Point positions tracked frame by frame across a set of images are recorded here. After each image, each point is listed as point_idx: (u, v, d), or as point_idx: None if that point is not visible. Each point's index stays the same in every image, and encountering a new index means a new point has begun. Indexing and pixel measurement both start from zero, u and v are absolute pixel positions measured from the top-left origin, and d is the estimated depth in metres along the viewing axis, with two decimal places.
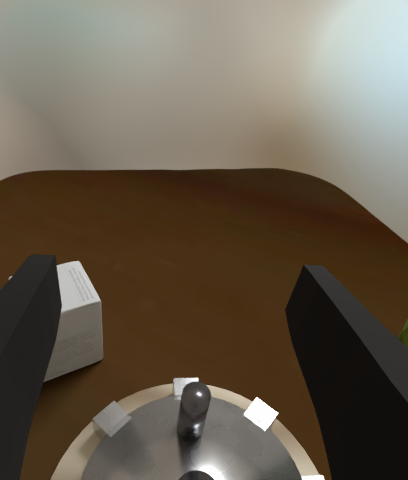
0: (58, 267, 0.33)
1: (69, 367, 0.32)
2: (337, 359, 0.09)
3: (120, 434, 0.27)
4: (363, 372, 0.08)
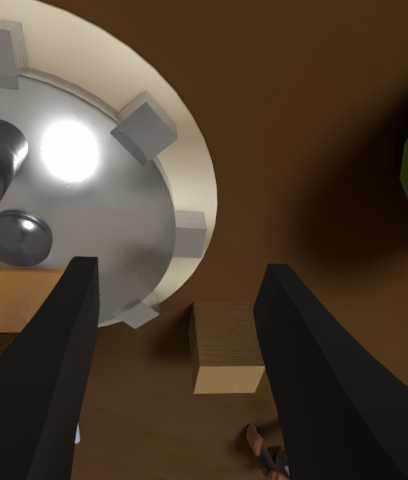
0: None
1: None
2: (296, 359, 0.09)
3: None
4: (317, 373, 0.08)
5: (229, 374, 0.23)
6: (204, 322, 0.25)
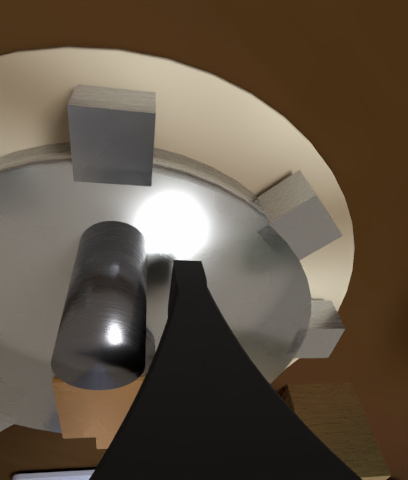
0: None
1: None
2: None
3: None
4: None
5: None
6: (306, 413, 0.21)
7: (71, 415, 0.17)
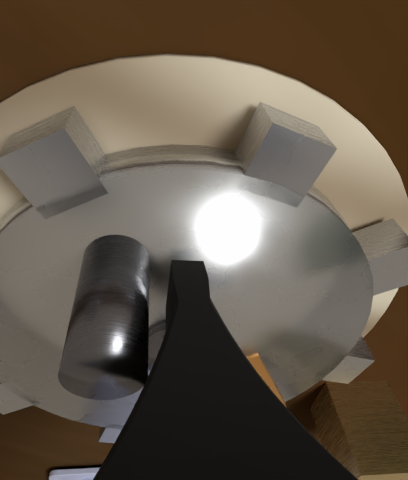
0: None
1: None
2: None
3: None
4: None
5: None
6: (346, 410, 0.21)
7: None
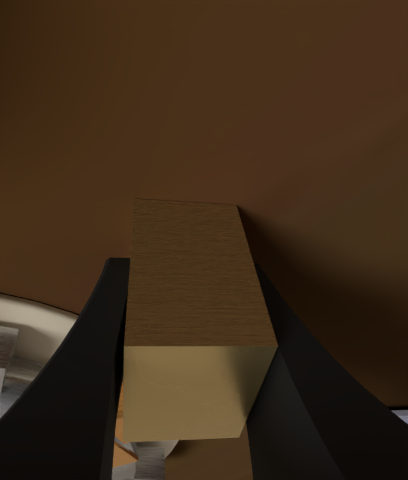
0: None
1: None
2: None
3: None
4: (276, 373, 0.08)
5: (161, 402, 0.08)
6: None
7: None
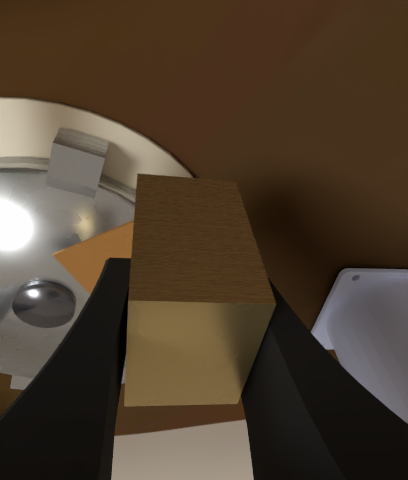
0: None
1: None
2: (259, 359, 0.09)
3: (37, 371, 0.24)
4: (276, 373, 0.08)
5: (162, 363, 0.09)
6: None
7: None
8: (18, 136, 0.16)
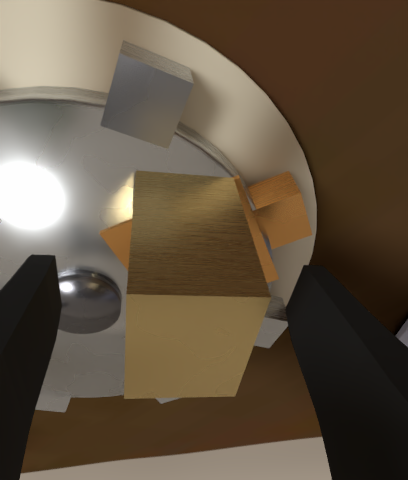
0: None
1: None
2: (337, 359, 0.09)
3: (61, 387, 0.19)
4: (363, 372, 0.08)
5: (161, 355, 0.09)
6: None
7: None
8: (59, 55, 0.11)
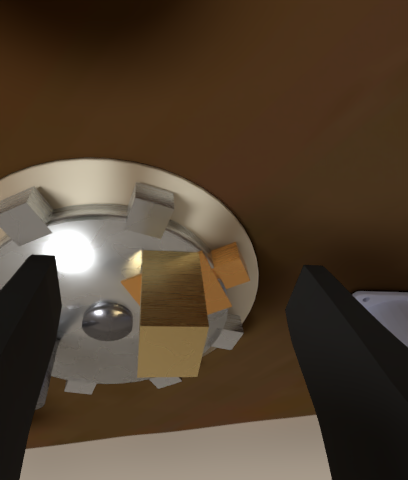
0: None
1: None
2: (337, 359, 0.09)
3: (90, 376, 0.27)
4: (363, 372, 0.08)
5: (156, 354, 0.18)
6: (139, 318, 0.21)
7: None
8: (100, 187, 0.20)
